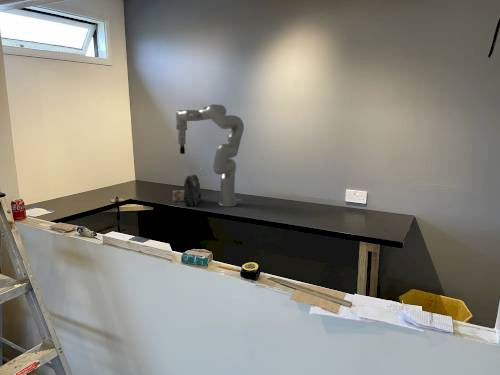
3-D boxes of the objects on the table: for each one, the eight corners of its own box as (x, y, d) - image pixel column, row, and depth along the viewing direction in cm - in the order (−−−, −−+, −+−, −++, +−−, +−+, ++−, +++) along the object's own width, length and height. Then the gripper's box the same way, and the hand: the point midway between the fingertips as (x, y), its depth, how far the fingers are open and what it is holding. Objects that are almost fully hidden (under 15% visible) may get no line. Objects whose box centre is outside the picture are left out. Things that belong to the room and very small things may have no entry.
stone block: (194, 207, 231) (194, 177, 227) (182, 206, 233) (181, 177, 229) (204, 200, 248) (204, 173, 244) (193, 200, 250) (192, 172, 246)
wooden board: (201, 199, 252) (201, 189, 251) (201, 199, 251) (201, 190, 249) (173, 200, 248) (172, 190, 246) (173, 201, 246) (172, 191, 244)
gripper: (176, 127, 255) (176, 152, 259) (176, 128, 240) (177, 155, 244) (186, 127, 256) (187, 152, 260) (187, 128, 242) (188, 154, 246)
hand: (182, 153), depth 252 cm, fingers closed
